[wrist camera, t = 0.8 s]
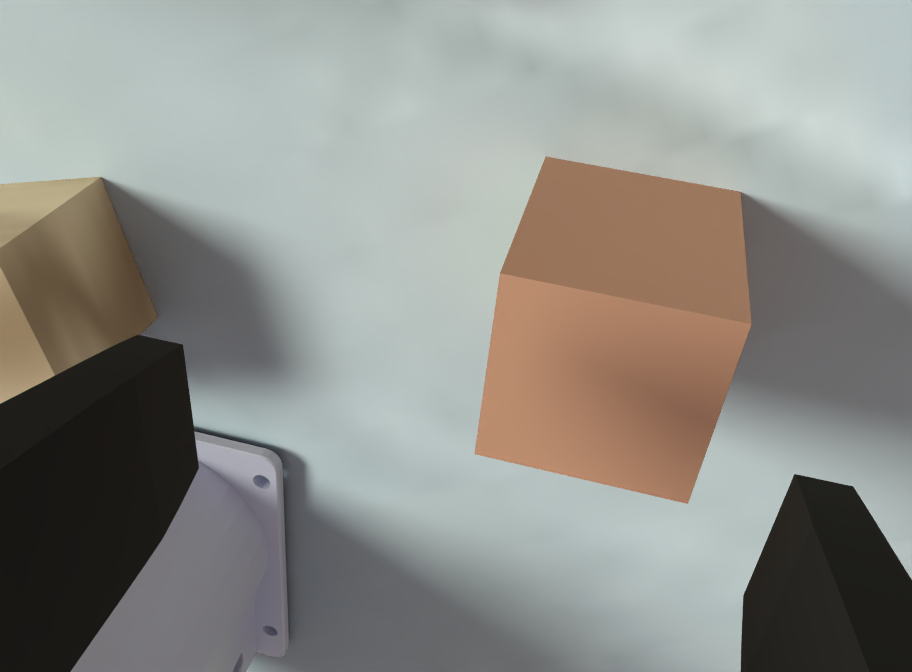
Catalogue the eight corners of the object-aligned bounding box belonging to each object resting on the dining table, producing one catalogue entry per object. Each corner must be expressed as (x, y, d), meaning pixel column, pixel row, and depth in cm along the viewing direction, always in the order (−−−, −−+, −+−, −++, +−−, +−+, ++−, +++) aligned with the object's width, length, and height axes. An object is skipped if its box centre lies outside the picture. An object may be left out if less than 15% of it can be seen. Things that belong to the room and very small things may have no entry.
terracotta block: (691, 349, 20) (688, 503, 16) (520, 314, 20) (474, 454, 16) (740, 191, 17) (751, 324, 13) (546, 155, 18) (500, 273, 14)
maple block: (159, 315, 23) (70, 407, 20) (36, 317, 24) (-66, 404, 21) (102, 175, 21) (-7, 252, 18) (-29, 185, 22) (-154, 259, 19)
